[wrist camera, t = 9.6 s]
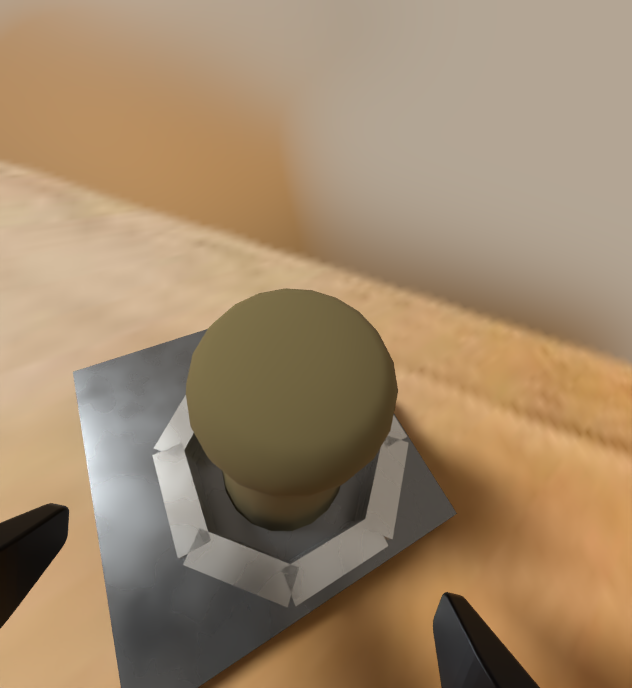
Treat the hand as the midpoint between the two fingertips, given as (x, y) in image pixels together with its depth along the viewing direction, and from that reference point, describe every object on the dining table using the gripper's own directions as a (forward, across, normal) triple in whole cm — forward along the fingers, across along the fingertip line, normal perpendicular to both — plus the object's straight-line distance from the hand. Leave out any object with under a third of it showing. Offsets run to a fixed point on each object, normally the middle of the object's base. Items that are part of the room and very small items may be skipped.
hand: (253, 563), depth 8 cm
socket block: (+10, +2, +3) cm, 10 cm away
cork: (+8, 0, +3) cm, 9 cm away
